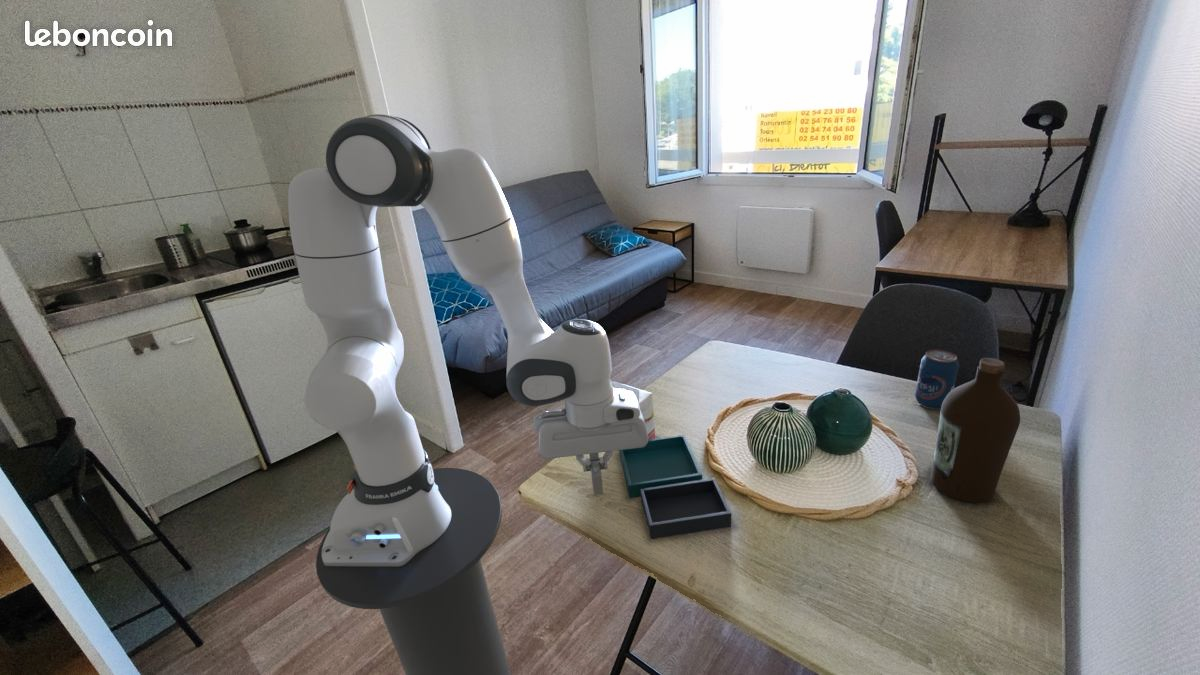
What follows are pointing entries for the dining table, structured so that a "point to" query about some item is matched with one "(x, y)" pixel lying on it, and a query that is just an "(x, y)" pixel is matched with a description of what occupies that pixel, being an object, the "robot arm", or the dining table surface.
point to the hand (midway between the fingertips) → (595, 468)
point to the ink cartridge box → (642, 406)
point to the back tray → (659, 464)
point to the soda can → (936, 378)
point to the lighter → (596, 474)
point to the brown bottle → (975, 435)
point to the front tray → (684, 508)
